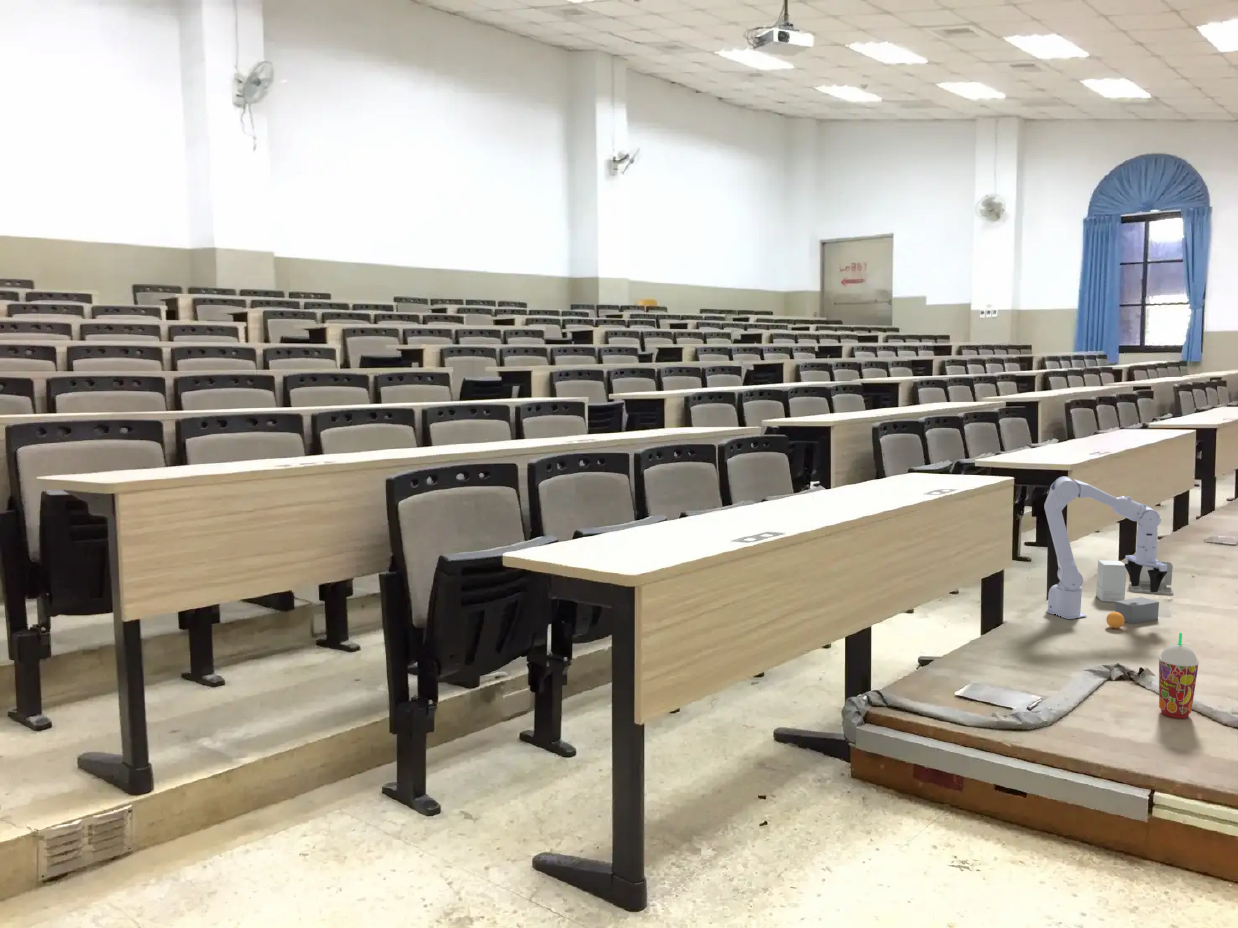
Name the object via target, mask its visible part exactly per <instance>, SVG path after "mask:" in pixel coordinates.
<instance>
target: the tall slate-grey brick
mask: <svg viewBox="0 0 1238 928" xmlns="http://www.w3.org/2000/svg"><path fill="white" fill-rule="evenodd" d="M1114 604H1115V605H1114V606H1115V607H1114V612H1119V613H1120V614H1122V615H1123V617H1124V620H1125V622H1124V623H1127V624H1131V625H1132V624H1138V623H1144V622H1150V621H1156V620H1159V611H1160V610H1159V608H1160V602H1159V601H1157V600H1154V599H1150V598H1146V597H1143V596H1141V597H1134V598H1127V599H1125V600H1121V601H1116V602H1114Z"/></svg>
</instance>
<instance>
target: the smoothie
mask: <svg viewBox="0 0 1238 928" xmlns="http://www.w3.org/2000/svg"><path fill="white" fill-rule="evenodd" d="M1182 641H1183V633H1182V632H1179V633H1178V643H1173V644H1169V645H1168V646H1166V647H1165V648H1164V649H1163V650H1162V652H1161V653H1160V654H1159V656H1158V707H1159V709H1160V711H1161V712H1160V713H1161V714H1162V715H1164V716H1166V717H1168V718H1171V719H1177V720H1178V719H1179V720H1180V719H1182V720H1184V719H1187V718H1189V715H1190V714H1191V713H1192V710H1193V704H1194V697H1195V689H1196V684H1197V675H1198V669H1199V665H1200V661H1199V660H1198V657H1197V654H1196V653H1195V651H1193V649H1192V648H1190V647H1189V646H1187V645H1185V644H1182V643H1183V642H1182Z"/></svg>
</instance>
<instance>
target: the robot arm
mask: <svg viewBox="0 0 1238 928" xmlns="http://www.w3.org/2000/svg"><path fill="white" fill-rule="evenodd" d="M1077 497H1078V498H1079V499H1083V498H1090V499H1093V500H1095V501H1098V502H1100V503H1102V504H1104V505H1107V506H1109V507H1111V508H1112V511H1113V513H1114V514H1117V515H1118V516H1122V517H1123V518H1126V519H1128V520H1130V521H1133V522H1137V530H1136V546H1135V555H1131V554H1128V555H1127V554H1126V555H1125V560H1124V561H1125V562H1127V563H1124V564H1125V568H1126V572H1127V573H1128V575H1129V577H1130V580H1131V582H1130V584H1131V585H1132V586H1133V587H1134V586H1139V581H1140V573H1141V570H1142V567H1143V566H1146V567H1150V568H1153V570H1148V574H1149V577H1150V591H1151V592H1158V589H1159V586H1160V583H1161V581H1162V579H1163V578H1164V576H1165V575H1166V574H1167V565H1166V564H1163V563H1161V562H1159V561H1160V560H1159V559H1157V555H1158V554H1157V552H1158V551H1157V550H1158V535H1159V534H1158V533H1159V532H1158V527H1159V526H1160V523H1161V522H1162V519H1161V518H1160V517H1161V516H1160V514H1159V512H1157V511H1156V510H1154V509H1153V508H1151V507H1150V506H1149V505H1147V504H1145V503H1140V502H1137V501H1135V500H1133V498H1132V496H1129V495H1127V496H1124V495H1120V496H1118V497H1116V496H1113V495H1111V494H1110V493H1108V492H1105V491H1103V490H1101V489H1100V488H1098V487H1095V486H1093V485H1091V484H1090V483H1086V482H1084V481H1081V480H1078V479H1075V478H1074V479H1072V478H1071V477H1069V476H1060V477H1058V478H1056V480H1055V481H1054V482H1052V484H1051V485H1050V488H1049V491H1048V494H1047V497H1046V499H1045V502H1044V505H1043V506H1044V507H1043V508H1044V511H1045V515H1046V519H1047V524H1048V526H1049V527H1048V528H1049V531H1050V534H1051V535H1050V537H1051V539H1052V543H1053V547H1054V551H1055V555H1056V560H1057V566H1058V569H1057V573H1056V574H1057V578H1058V580H1059V582H1058V583H1056V584H1054V585H1052V586H1051V587H1050V588H1049V591H1048V597H1047V598H1048V599H1047V610H1045V612H1046V613H1047V614H1051V615H1054V614H1056V615H1055V616H1057V615H1058V617H1060V616H1061V617H1060V618H1062V619H1063V618H1064V619H1067V620H1073V619H1078V618H1085V617H1088V616H1087V614H1086V613H1085V614H1084V613H1082V612H1081V610H1082V591H1083V587H1082V585H1083V583H1084V578H1083V575H1082V574H1081V572H1079V570H1078V567H1077V564H1076V560H1075V559H1074V558H1075V557H1074V554H1073V551H1072V547H1071V542H1070V540H1069V535H1068V532H1067V531H1068V530H1067V527H1066V524H1065V519H1064V515H1063V511H1064V508H1065V507H1066V506H1067V505H1068V504H1069V503H1070V502H1072V501H1074V500H1076V499H1077Z"/></svg>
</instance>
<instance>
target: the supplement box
mask: <svg viewBox="0 0 1238 928" xmlns="http://www.w3.org/2000/svg"><path fill="white" fill-rule="evenodd" d="M1125 564H1126V563H1124V562H1122V561H1121V560H1108V559H1107V560H1106V559H1104V560H1103V559H1102V560H1100V559H1098V560H1097V570H1096V571H1097V573H1096V575H1097V576H1096V589H1095V591H1096V593H1095V597H1097V598H1098V599H1099V600H1100V601H1101V602H1111V603H1116V601H1121V600H1126V597H1125V596H1126V585H1127V584H1126V582H1127V569H1126V568H1125Z"/></svg>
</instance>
